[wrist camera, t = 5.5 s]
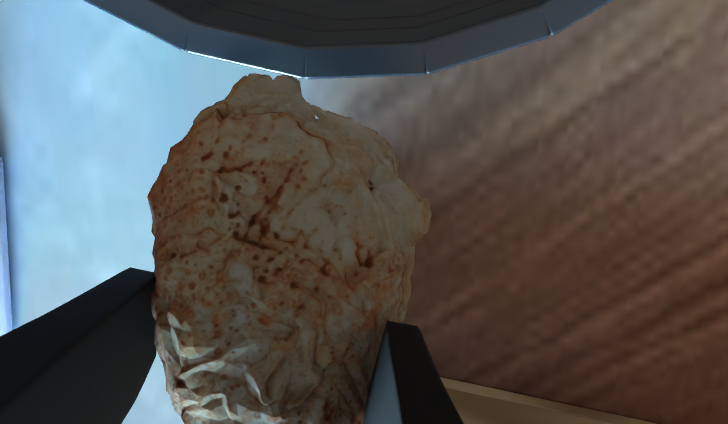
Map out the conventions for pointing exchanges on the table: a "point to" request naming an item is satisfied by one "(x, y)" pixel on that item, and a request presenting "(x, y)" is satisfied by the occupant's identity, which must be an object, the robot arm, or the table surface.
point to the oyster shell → (278, 259)
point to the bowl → (349, 31)
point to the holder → (521, 408)
